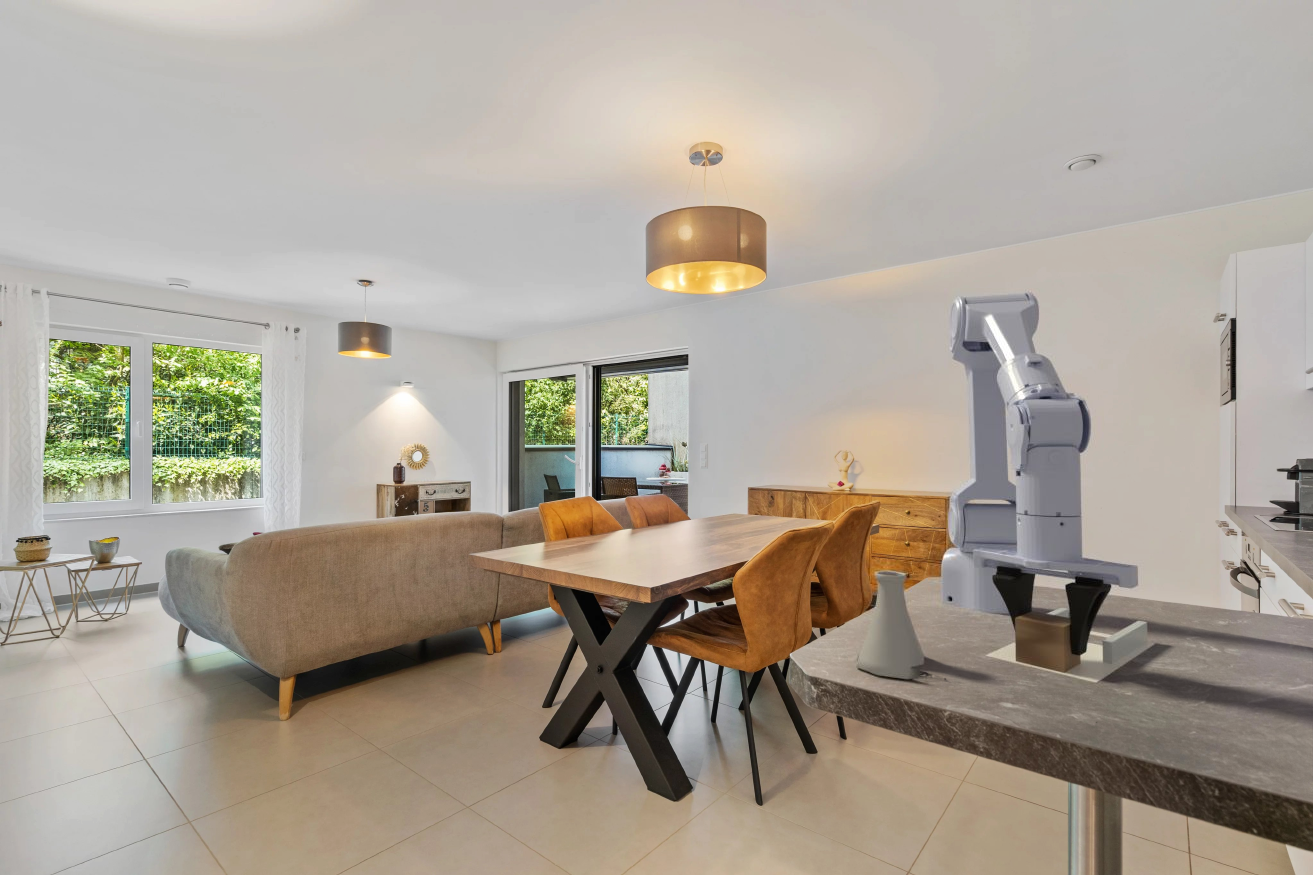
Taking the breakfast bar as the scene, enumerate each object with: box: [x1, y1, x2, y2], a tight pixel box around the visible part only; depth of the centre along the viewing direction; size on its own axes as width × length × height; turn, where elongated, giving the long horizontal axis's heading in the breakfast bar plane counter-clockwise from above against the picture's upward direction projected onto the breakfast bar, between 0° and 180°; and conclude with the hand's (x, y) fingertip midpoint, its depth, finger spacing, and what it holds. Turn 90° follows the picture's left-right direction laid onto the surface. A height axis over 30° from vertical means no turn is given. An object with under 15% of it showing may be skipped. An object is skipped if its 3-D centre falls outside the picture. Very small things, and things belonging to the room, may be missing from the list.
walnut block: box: [1014, 610, 1081, 673], centre depth 64 cm, size 4×4×4 cm
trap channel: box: [985, 607, 1156, 684], centre depth 68 cm, size 10×19×3 cm, turn 128°
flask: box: [855, 570, 928, 680], centre depth 66 cm, size 7×7×10 cm
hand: (1050, 646), depth 64 cm, fingers closed on walnut block, 4 cm apart
